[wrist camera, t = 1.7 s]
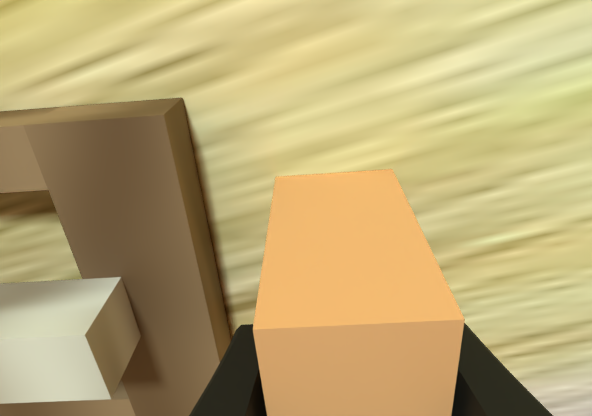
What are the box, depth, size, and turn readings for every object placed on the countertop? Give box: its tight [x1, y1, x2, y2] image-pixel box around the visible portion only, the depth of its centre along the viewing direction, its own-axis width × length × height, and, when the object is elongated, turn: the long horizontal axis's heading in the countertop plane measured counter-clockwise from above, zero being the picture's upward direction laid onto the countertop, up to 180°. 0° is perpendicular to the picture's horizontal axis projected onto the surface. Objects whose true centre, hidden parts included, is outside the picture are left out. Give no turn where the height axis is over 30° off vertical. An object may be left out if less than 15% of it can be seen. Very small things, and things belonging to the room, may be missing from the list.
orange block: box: [253, 169, 465, 416], centre depth 10 cm, size 3×6×6 cm, turn 4°
